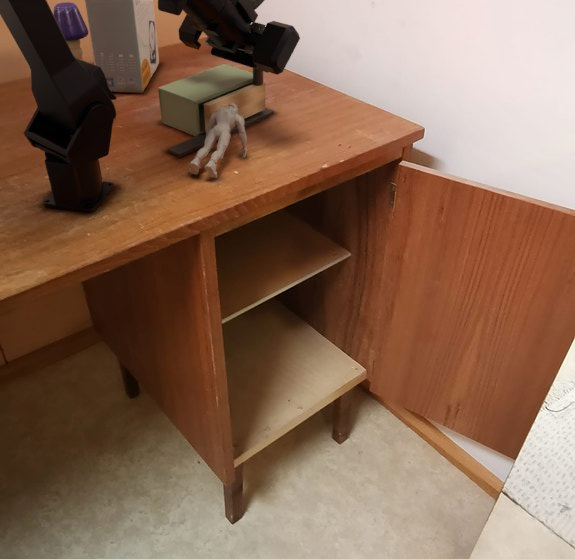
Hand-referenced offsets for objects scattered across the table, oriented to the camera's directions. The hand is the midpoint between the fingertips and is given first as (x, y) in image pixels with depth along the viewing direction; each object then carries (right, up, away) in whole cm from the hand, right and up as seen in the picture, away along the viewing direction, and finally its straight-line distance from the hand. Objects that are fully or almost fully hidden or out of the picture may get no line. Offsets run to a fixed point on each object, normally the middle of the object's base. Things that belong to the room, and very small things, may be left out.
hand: (264, 67), depth 92 cm
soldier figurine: (-6, -16, -9) cm, 19 cm away
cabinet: (-9, -8, 0) cm, 12 cm away
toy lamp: (-27, -8, 0) cm, 28 cm away
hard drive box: (-24, +3, +15) cm, 29 cm away
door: (-4, -9, 0) cm, 10 cm away
